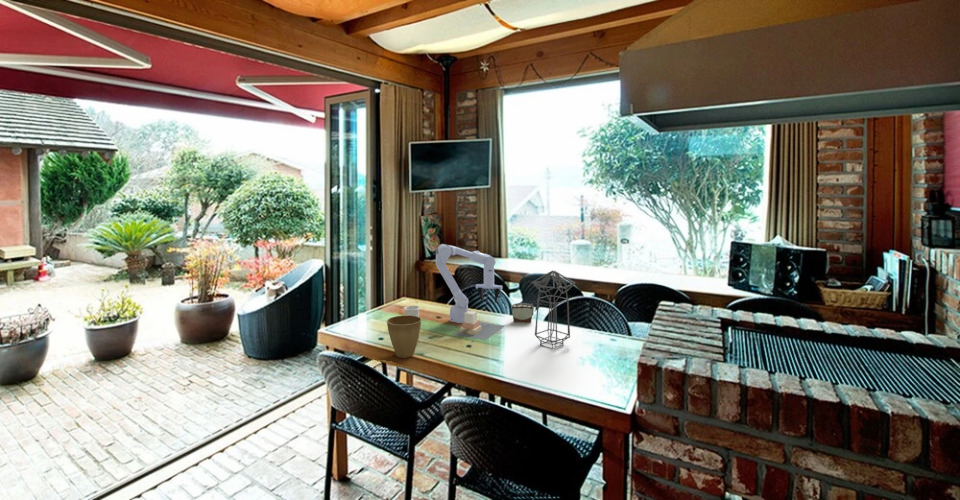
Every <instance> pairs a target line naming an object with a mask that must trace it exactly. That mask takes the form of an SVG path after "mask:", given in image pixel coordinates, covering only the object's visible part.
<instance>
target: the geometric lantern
mask: <svg viewBox="0 0 960 500" xmlns="http://www.w3.org/2000/svg"><path fill="white" fill-rule="evenodd" d="M563 278H564V279H563ZM565 279H566V280H567V281H566V280H565ZM550 280H552V283H553V284H552V285H553V286H547V285H548V284H549V282H550ZM555 283H556V287H555ZM530 284H532V285H534V287H535V288H536V289H538V295H537V299H536V300H537V301H536V302H537V303H536V318H535V319H536V320H535V328H534V329H535V330H534V337H536V338H537V339H538V341H540V344H539V345H540V346H541V347H544V348H548V349H552V350H554V349H558V348H560V347H562V346H564V342H565V341H567V340H568V339H570V338H571V329H570V308H569V307H570V306H569V305H570V303H569V301H570V300H569V297H568V291H569V290H571V288H572V287H574V286H575V284H576V281H573V280H572V279H570V278H568V277H566V276H565V275H563V274H561V273H560V272H558V271H556V270H551V271H549V272H547V273H545V274H543V275H542V276H540V277H537V278H536V279H534V280H532V281H531V282H530ZM567 284H568V285H567ZM562 285H564V286H562ZM541 289H543V290H541ZM545 289H546V290H545ZM553 289H556V291H555V292H554V294H553V295H552V294H551V293H550V291H551V290H553ZM563 289H564V290H563ZM558 291H559V292H560V294H559V295H556V294H557V293H558ZM542 293H544V294H545V296H542V297H541V294H542ZM547 293H549V295H548V294H547ZM562 294H565V296H566V297H563V296H561V295H562ZM552 297H553V302H552ZM544 298H547V299H548V301H544V300H541V299H544ZM556 298H557V299H556ZM559 298H560V299H564V300H562V301H559ZM557 301H559V302H557ZM540 302H544V303H547V304H549V306H548V319H547V329H545V330H543V331H539V332H538V318H539V316H538V315H539V308H540ZM564 302H566V307H567V308H566V309H567V333H566V332H562V331H559V330H558V318H557V304H561V303H564ZM552 325H553V326H552ZM552 327H553V328H552ZM549 331H550V332H549ZM545 332H547V335H548V336H547V337H542V336H539V335H538V334H541V333H545ZM554 332H555V337H554V336H553V334H554ZM558 333H560V334H564V335H565V337H563V338H559V337H558ZM552 339H554V340H552ZM544 340H545V341H544ZM543 344H548V345H551V346H552V347H549V346H547V345H543ZM557 344H560V345H558V346H556V345H557Z"/></svg>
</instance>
